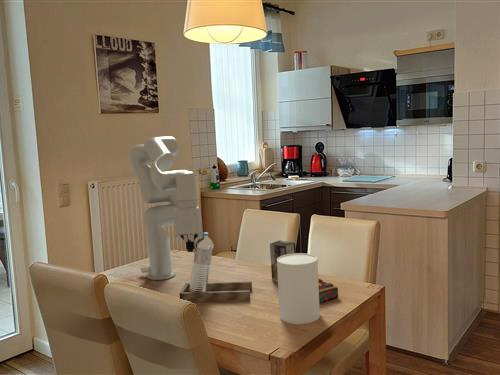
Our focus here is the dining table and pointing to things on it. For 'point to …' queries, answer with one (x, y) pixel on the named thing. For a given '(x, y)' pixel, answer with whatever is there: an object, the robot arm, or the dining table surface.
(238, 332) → the dining table surface
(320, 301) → the decorative book
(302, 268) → the canister
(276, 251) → the coffee box
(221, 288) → the bottle rest
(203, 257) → the water bottle
